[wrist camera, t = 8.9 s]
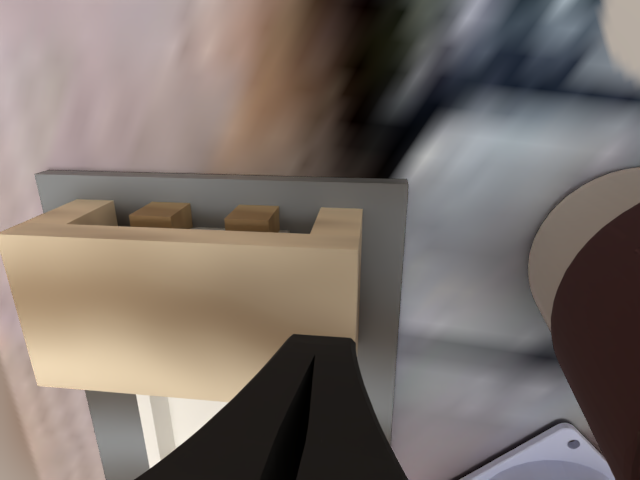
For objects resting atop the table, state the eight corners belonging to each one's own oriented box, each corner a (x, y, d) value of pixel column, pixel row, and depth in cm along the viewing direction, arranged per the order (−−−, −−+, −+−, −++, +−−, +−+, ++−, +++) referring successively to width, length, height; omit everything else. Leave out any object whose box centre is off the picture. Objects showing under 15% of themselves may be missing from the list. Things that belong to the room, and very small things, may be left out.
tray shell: (296, 460, 22) (289, 496, 20) (170, 448, 23) (152, 481, 21) (289, 230, 18) (279, 249, 16) (134, 224, 18) (107, 242, 17)
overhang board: (379, 576, 25) (380, 689, 21) (131, 544, 27) (80, 642, 22) (407, 179, 17) (417, 219, 12) (48, 170, 19) (-61, 202, 14)
